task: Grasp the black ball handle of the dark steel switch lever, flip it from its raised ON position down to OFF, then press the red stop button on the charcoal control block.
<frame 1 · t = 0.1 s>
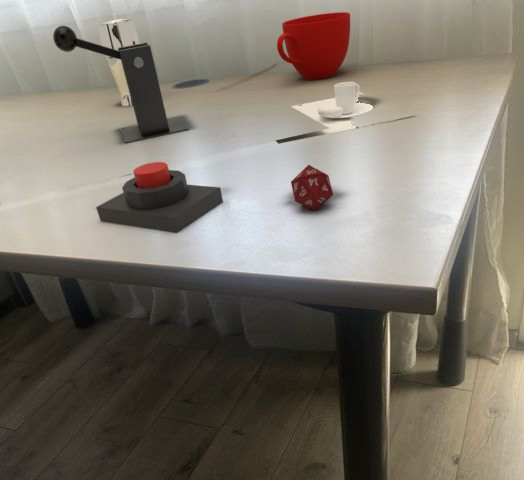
stop block: (161, 212, 58), on the table
stop button: (152, 176, 55), point 4 cm above the table, slide at 0.1 cm
switch bracket: (155, 136, 85), on the table
ceramic cup: (313, 79, 106), on the table
teacup and saucer: (326, 116, 82), on the table
dice: (313, 209, 53), on the table
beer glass: (137, 109, 106), on the table
switch lever: (101, 49, 77), point 13 cm above the table, hinge at 25.0°
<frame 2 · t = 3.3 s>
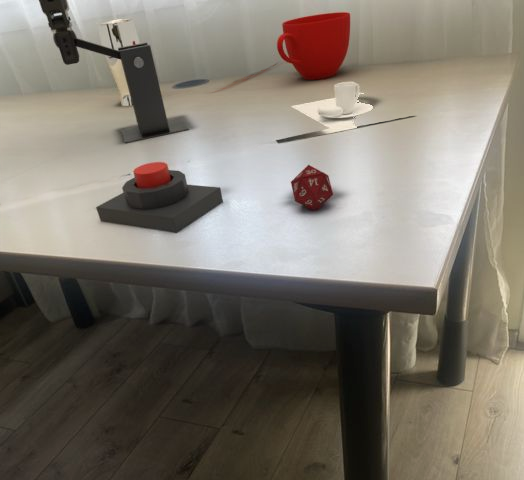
hand: (72, 61, 76), 12 cm above the table, tool pointing down, fingers closed on switch lever, 3 cm apart
switch lever: (101, 49, 77), point 13 cm above the table, hinge at 25.0°, touching gripper
everything else where it was.
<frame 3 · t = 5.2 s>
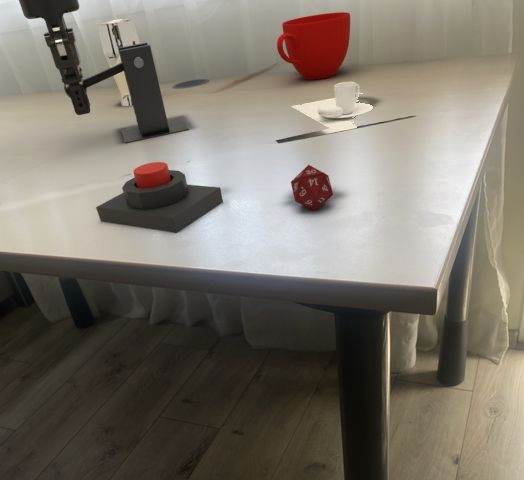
hand: (83, 110, 80), 6 cm above the table, tool pointing down, fingers closed on switch lever, 3 cm apart
switch lever: (105, 74, 79), point 10 cm above the table, hinge at -11.9°, touching gripper
everything else where it was.
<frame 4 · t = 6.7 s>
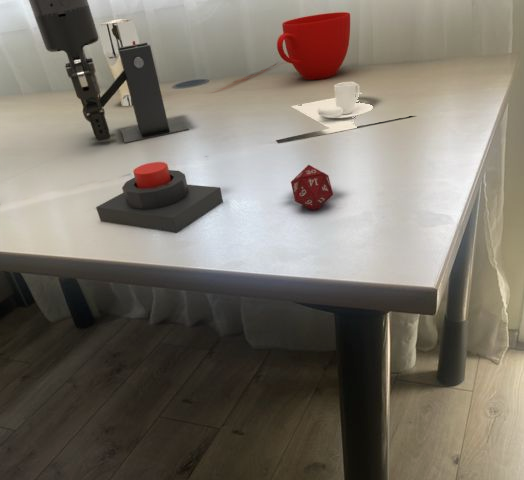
hand: (103, 136, 83), 2 cm above the table, tool pointing down, fingers closed on switch lever, 3 cm apart
switch lever: (114, 87, 80), point 8 cm above the table, hinge at -34.6°, touching gripper
everything else where it was.
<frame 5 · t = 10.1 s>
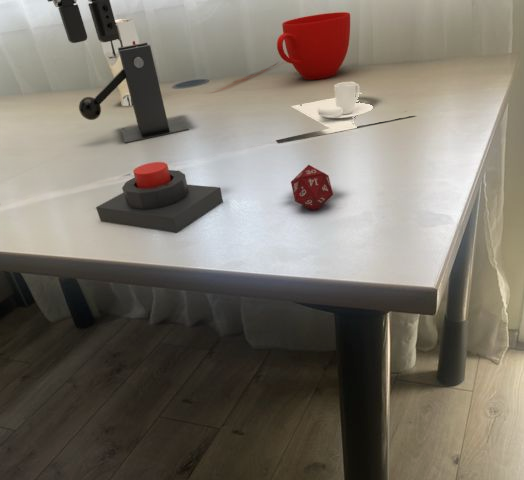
hand: (93, 41, 62), 15 cm above the table, tool pointing down, fingers open, 8 cm apart
switch lever: (112, 85, 80), point 8 cm above the table, hinge at -30.5°
everything else where it was.
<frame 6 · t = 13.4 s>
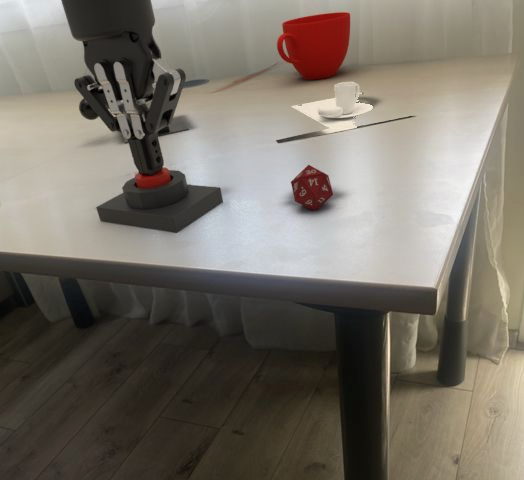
hand: (151, 172, 55), 4 cm above the table, tool pointing down, fingers closed
stop button: (153, 181, 56), point 3 cm above the table, slide at -0.4 cm, touching gripper
everything else where it was.
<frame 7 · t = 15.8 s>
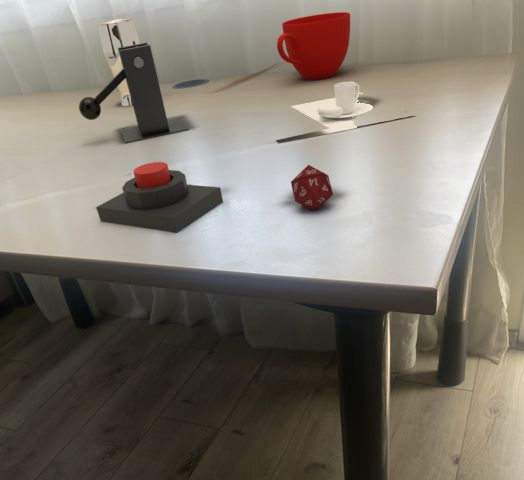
stop button: (152, 176, 55), point 4 cm above the table, slide at 0.1 cm
everything else where it was.
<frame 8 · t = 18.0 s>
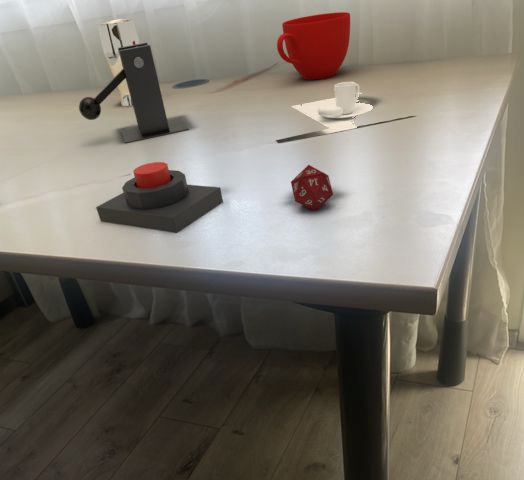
nothing on the table moved.
at the end: switch lever at -30° (first picture: +25°); stop button pushed in 1.1 cm at the most during the clip, back to where it started at the end; stop button slide at 0.1 cm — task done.
